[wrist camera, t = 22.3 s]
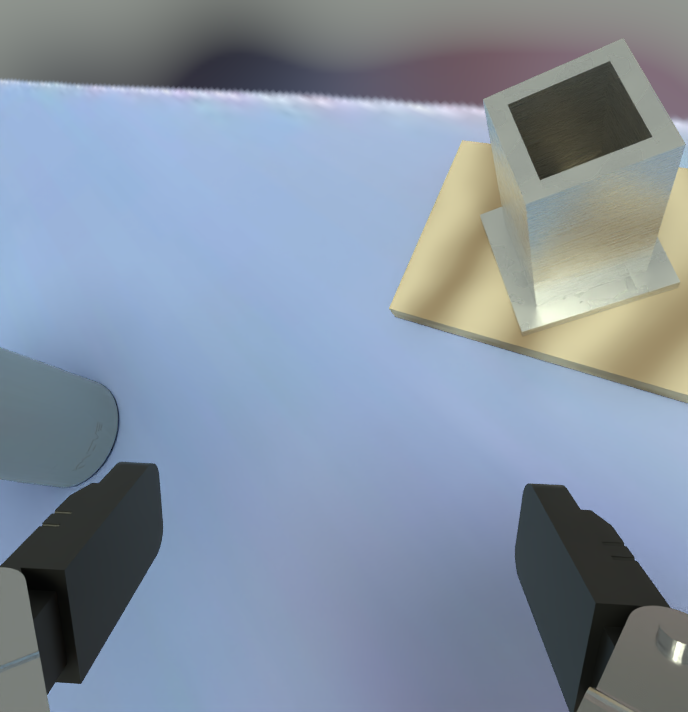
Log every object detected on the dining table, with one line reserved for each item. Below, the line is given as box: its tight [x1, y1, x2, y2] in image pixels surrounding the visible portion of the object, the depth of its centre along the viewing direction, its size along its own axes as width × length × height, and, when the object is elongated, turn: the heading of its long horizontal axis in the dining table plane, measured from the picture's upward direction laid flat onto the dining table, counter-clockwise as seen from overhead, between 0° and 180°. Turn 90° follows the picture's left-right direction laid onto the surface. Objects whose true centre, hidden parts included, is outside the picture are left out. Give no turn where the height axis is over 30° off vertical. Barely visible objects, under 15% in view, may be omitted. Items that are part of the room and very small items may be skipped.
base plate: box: [389, 140, 688, 403], centre depth 33 cm, size 20×14×6 cm
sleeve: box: [480, 39, 686, 336], centre depth 29 cm, size 9×9×12 cm
